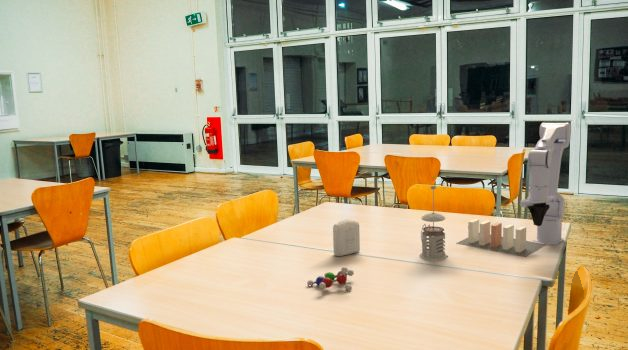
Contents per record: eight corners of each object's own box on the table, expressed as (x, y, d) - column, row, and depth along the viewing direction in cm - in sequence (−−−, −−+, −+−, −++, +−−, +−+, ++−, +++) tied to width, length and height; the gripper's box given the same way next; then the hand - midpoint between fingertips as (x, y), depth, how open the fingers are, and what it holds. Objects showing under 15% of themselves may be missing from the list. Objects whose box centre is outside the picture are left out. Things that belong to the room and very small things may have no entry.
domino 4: (521, 248, 180) (521, 226, 179) (525, 248, 179) (526, 226, 178) (515, 251, 177) (515, 229, 175) (519, 252, 175) (520, 230, 174)
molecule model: (301, 300, 151) (340, 298, 144) (296, 276, 151) (334, 273, 144) (328, 285, 164) (365, 282, 156) (323, 263, 164) (359, 259, 156)
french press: (453, 255, 177) (453, 184, 173) (436, 264, 169) (436, 190, 165) (428, 249, 184) (428, 181, 180) (410, 258, 176) (410, 187, 172)
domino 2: (485, 241, 189) (486, 220, 188) (489, 242, 188) (490, 221, 187) (479, 244, 186) (479, 223, 184) (483, 245, 185) (483, 224, 183)
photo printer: (354, 249, 189) (353, 216, 187) (361, 251, 185) (360, 218, 183) (331, 254, 183) (330, 221, 181) (338, 257, 179) (337, 223, 177)
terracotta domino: (497, 243, 186) (497, 222, 185) (501, 244, 185) (501, 223, 184) (490, 246, 183) (491, 225, 181) (495, 247, 182) (495, 226, 180)
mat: (478, 233, 201) (478, 232, 201) (546, 245, 183) (546, 244, 183) (455, 244, 189) (455, 243, 189) (526, 258, 171) (526, 257, 170)
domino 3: (508, 245, 183) (509, 224, 182) (513, 246, 182) (513, 224, 181) (502, 249, 180) (503, 227, 178) (507, 250, 178) (507, 228, 177)
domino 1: (474, 239, 192) (474, 218, 191) (478, 240, 191) (478, 219, 190) (468, 242, 189) (468, 221, 187) (472, 243, 188) (472, 222, 186)
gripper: (544, 181, 177) (543, 219, 179) (513, 186, 171) (512, 225, 173) (562, 184, 170) (560, 224, 172) (530, 189, 164) (528, 230, 167)
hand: (537, 225), depth 172 cm, fingers closed
